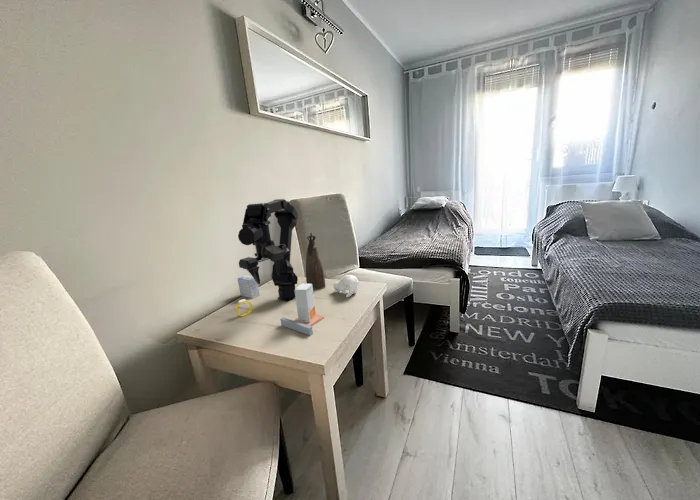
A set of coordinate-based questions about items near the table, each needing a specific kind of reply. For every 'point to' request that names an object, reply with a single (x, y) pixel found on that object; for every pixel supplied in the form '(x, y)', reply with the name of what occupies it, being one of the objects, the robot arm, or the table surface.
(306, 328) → the low wall
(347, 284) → the white animal figurine
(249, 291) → the medicine box
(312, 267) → the statue
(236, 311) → the watch
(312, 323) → the terracotta tile
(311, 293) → the skincare box
